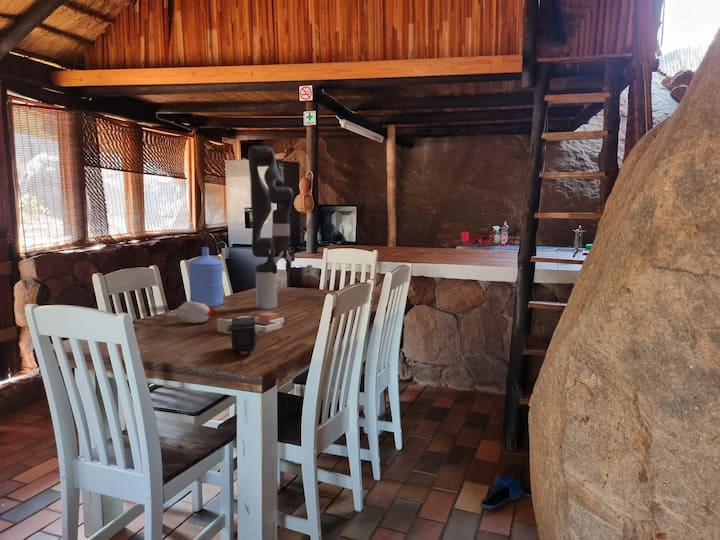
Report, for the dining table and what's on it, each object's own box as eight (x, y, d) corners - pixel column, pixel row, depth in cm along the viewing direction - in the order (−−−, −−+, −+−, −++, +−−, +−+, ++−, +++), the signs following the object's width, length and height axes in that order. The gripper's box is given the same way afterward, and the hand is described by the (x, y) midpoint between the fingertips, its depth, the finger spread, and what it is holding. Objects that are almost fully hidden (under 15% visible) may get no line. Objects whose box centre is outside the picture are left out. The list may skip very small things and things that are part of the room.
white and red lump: (174, 322, 222) (202, 320, 235) (193, 325, 216) (221, 323, 229) (175, 300, 222) (203, 299, 235) (195, 303, 216) (222, 302, 229)
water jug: (214, 308, 255) (212, 249, 252) (183, 306, 259) (182, 248, 255) (228, 302, 271) (227, 246, 267) (199, 301, 274) (198, 245, 270)
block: (267, 321, 230) (267, 311, 230) (278, 322, 227) (278, 313, 226) (257, 323, 225) (257, 314, 224) (268, 325, 222) (268, 315, 221)
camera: (227, 350, 188) (227, 357, 173) (226, 317, 187) (226, 322, 173) (258, 348, 190) (261, 355, 175) (258, 315, 190) (260, 320, 175)
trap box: (256, 317, 235) (256, 306, 235) (294, 324, 223) (294, 312, 223) (207, 329, 213) (207, 316, 213) (246, 337, 201) (246, 324, 201)
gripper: (285, 233, 237) (286, 270, 239) (262, 234, 225) (263, 273, 227) (299, 234, 233) (299, 271, 234) (275, 235, 221) (276, 274, 223)
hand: (281, 272), depth 231 cm, fingers open, 8 cm apart
